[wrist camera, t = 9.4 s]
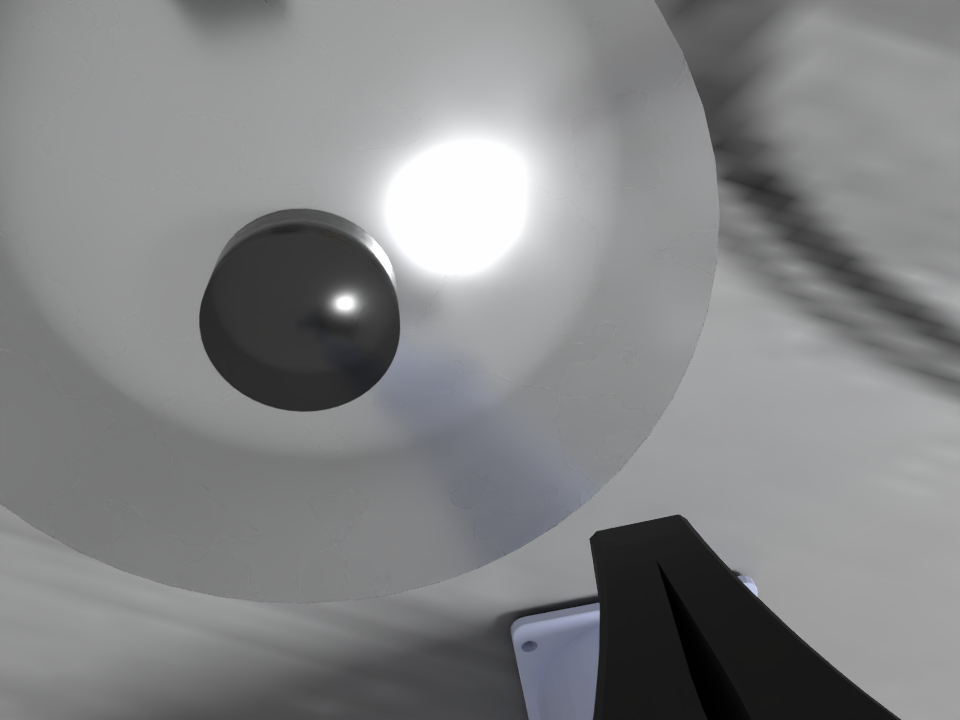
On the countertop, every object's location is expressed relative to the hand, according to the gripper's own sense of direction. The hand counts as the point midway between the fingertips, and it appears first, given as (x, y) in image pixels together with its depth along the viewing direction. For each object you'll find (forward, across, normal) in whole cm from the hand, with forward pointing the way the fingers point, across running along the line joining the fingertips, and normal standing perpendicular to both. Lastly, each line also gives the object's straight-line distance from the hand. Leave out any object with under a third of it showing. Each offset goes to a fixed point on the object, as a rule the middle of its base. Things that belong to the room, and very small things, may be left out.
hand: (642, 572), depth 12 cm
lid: (+5, +4, -7) cm, 10 cm away
